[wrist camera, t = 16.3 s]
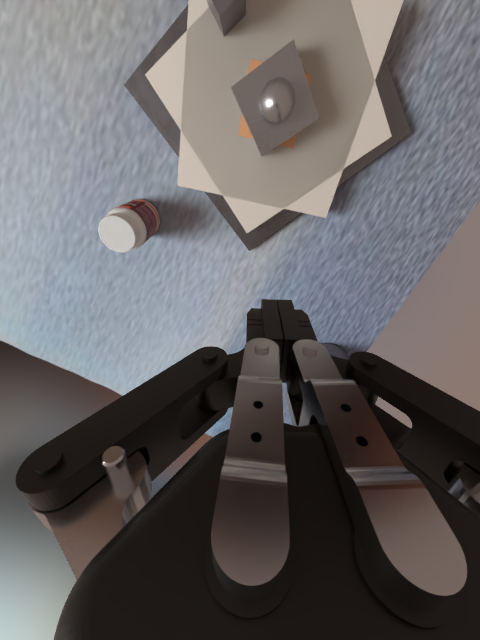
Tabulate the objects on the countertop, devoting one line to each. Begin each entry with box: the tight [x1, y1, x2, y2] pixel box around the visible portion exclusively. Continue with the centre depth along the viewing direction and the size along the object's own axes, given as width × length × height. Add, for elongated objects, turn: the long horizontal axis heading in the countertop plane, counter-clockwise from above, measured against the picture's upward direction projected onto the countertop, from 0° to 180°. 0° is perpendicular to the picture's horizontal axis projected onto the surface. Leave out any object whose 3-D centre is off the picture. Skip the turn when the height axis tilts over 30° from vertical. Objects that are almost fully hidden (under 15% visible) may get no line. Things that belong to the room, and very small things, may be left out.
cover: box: [231, 39, 320, 156], centre depth 25 cm, size 6×6×4 cm
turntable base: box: [124, 5, 411, 251], centre depth 29 cm, size 22×22×1 cm
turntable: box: [145, 0, 404, 233], centre depth 25 cm, size 26×26×6 cm
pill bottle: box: [98, 199, 160, 253], centre depth 32 cm, size 5×5×8 cm
